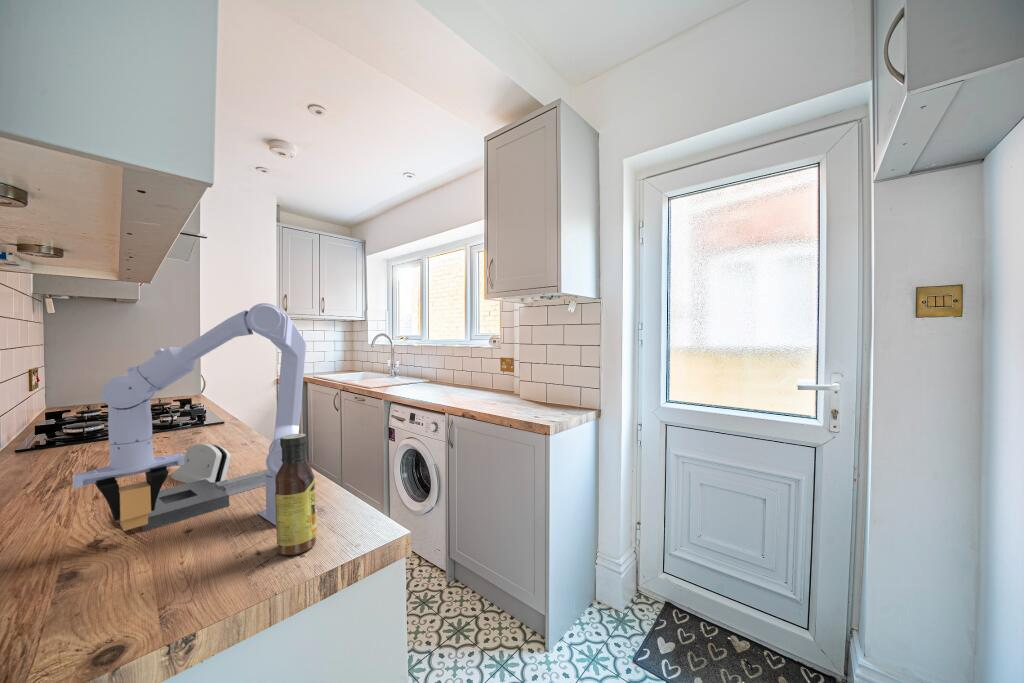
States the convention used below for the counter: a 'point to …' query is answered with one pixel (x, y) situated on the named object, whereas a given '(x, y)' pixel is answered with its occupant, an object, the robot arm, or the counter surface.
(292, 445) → the sauce bottle
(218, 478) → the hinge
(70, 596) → the counter surface
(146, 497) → the wedge pin
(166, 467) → the robot arm
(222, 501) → the grey mounting plate
